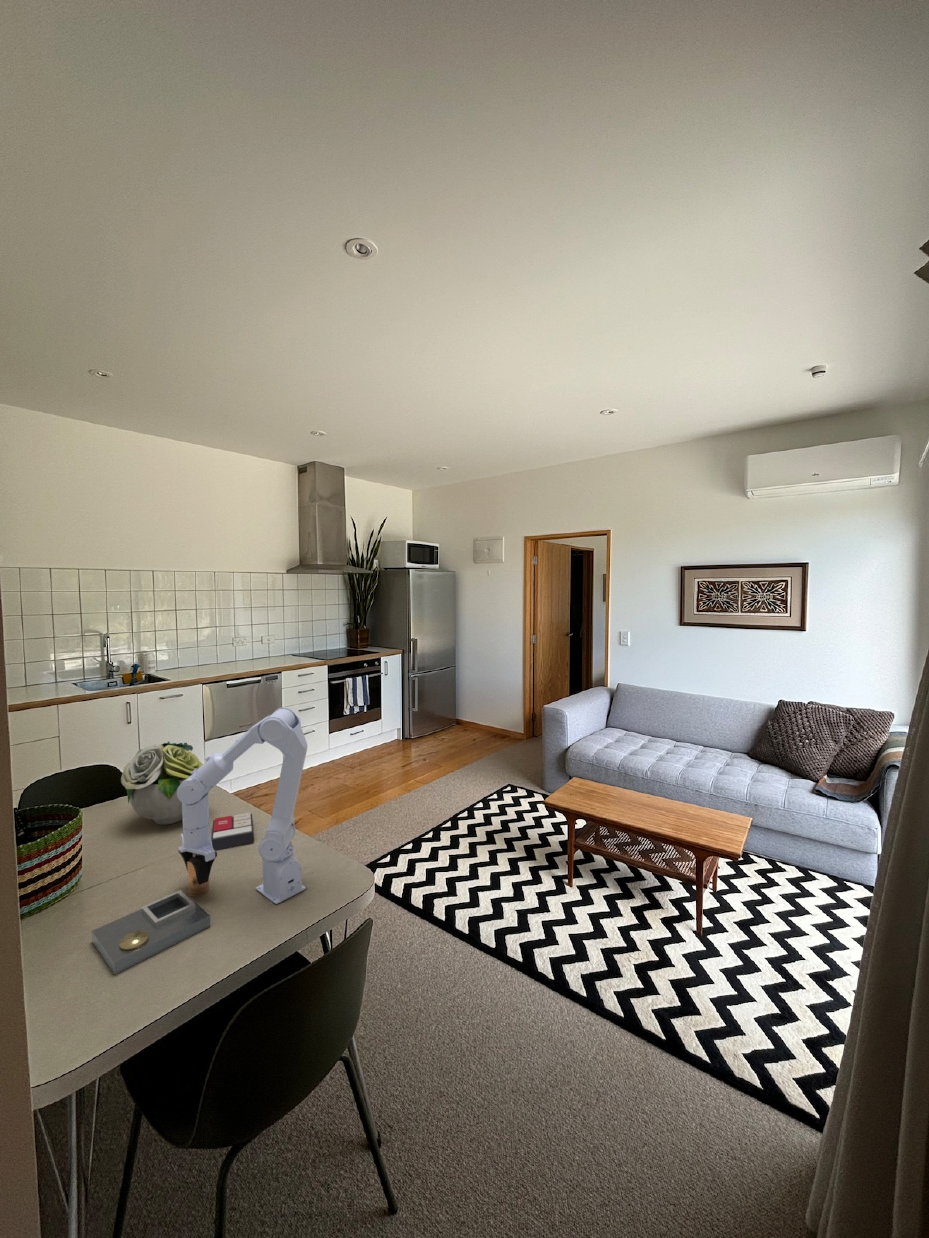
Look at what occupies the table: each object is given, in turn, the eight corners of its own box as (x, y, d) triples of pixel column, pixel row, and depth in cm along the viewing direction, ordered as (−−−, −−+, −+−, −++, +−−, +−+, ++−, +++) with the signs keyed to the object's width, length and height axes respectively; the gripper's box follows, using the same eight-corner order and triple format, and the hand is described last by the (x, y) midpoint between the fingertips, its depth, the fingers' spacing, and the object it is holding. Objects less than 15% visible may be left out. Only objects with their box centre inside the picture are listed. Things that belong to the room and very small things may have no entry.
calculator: (251, 810, 161) (253, 829, 147) (252, 824, 161) (254, 844, 147) (213, 817, 156) (210, 837, 143) (213, 831, 156) (211, 852, 143)
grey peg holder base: (210, 926, 112) (209, 910, 112) (114, 974, 98) (113, 957, 98) (183, 900, 121) (182, 886, 120) (92, 942, 107) (91, 926, 107)
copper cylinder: (212, 890, 125) (211, 852, 124) (193, 899, 121) (191, 860, 121) (204, 883, 128) (202, 846, 127) (185, 891, 124) (183, 853, 123)
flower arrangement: (103, 835, 151) (98, 755, 150) (163, 800, 176) (160, 730, 174) (179, 841, 148) (176, 759, 146) (230, 804, 173) (228, 733, 171)
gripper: (166, 821, 125) (168, 874, 126) (192, 840, 116) (194, 898, 117) (196, 811, 130) (198, 862, 131) (223, 829, 121) (225, 883, 122)
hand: (198, 878), depth 124 cm, fingers closed on copper cylinder, 4 cm apart
